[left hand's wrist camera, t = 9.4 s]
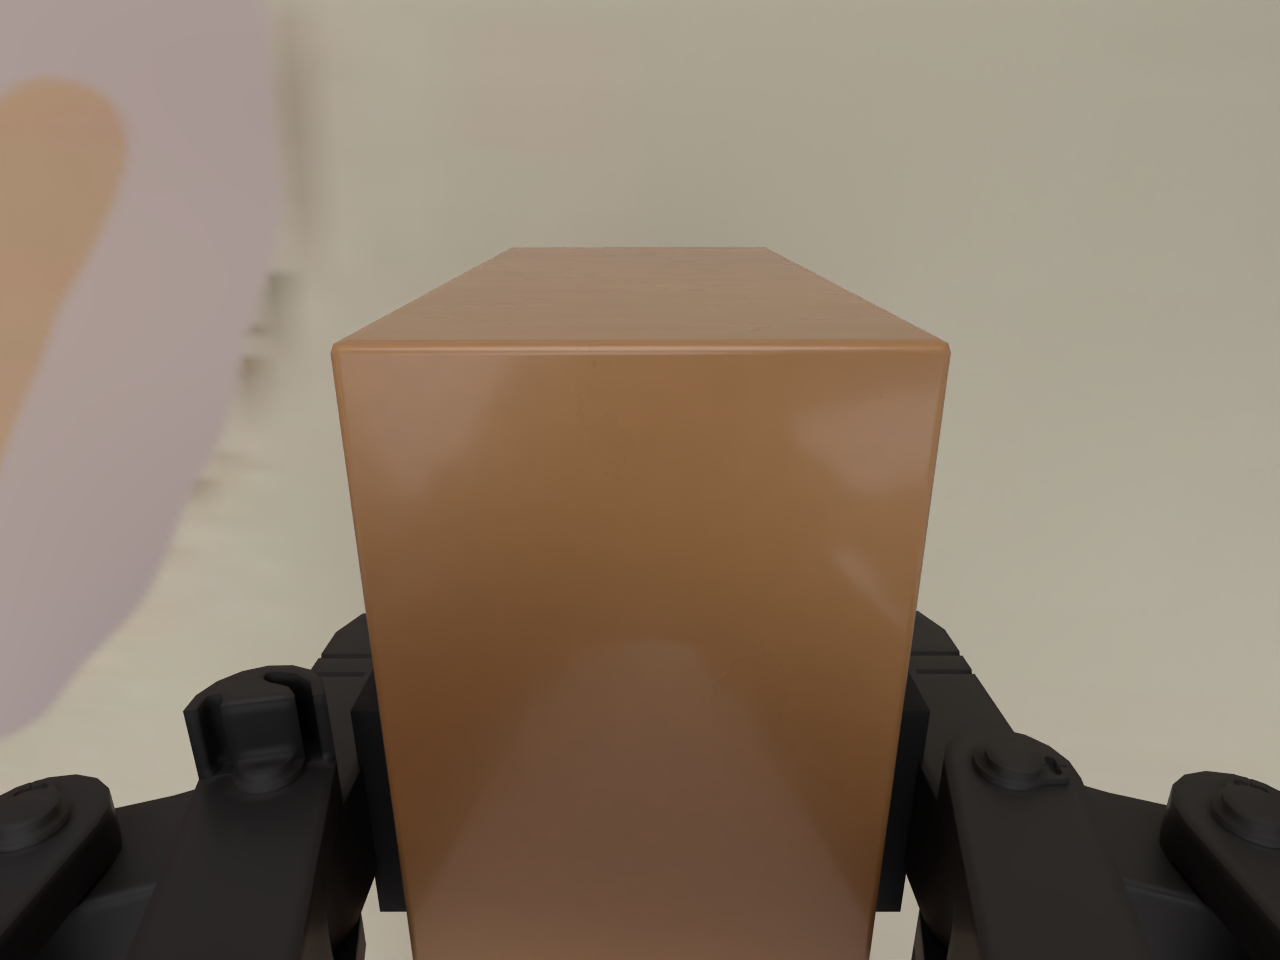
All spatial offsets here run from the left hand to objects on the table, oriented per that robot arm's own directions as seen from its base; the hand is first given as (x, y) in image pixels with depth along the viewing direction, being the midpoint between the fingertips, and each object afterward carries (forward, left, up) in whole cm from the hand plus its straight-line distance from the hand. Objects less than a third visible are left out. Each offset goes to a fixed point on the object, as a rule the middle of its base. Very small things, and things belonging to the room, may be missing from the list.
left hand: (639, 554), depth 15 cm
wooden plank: (+29, +13, -1) cm, 32 cm away
